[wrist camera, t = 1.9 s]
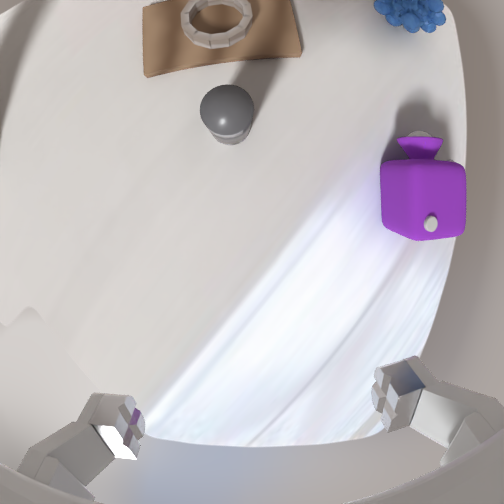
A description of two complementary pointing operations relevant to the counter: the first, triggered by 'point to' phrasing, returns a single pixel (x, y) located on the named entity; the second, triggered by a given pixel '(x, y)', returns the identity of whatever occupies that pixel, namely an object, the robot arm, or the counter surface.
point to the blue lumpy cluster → (412, 13)
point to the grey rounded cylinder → (227, 113)
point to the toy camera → (423, 191)
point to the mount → (216, 33)
